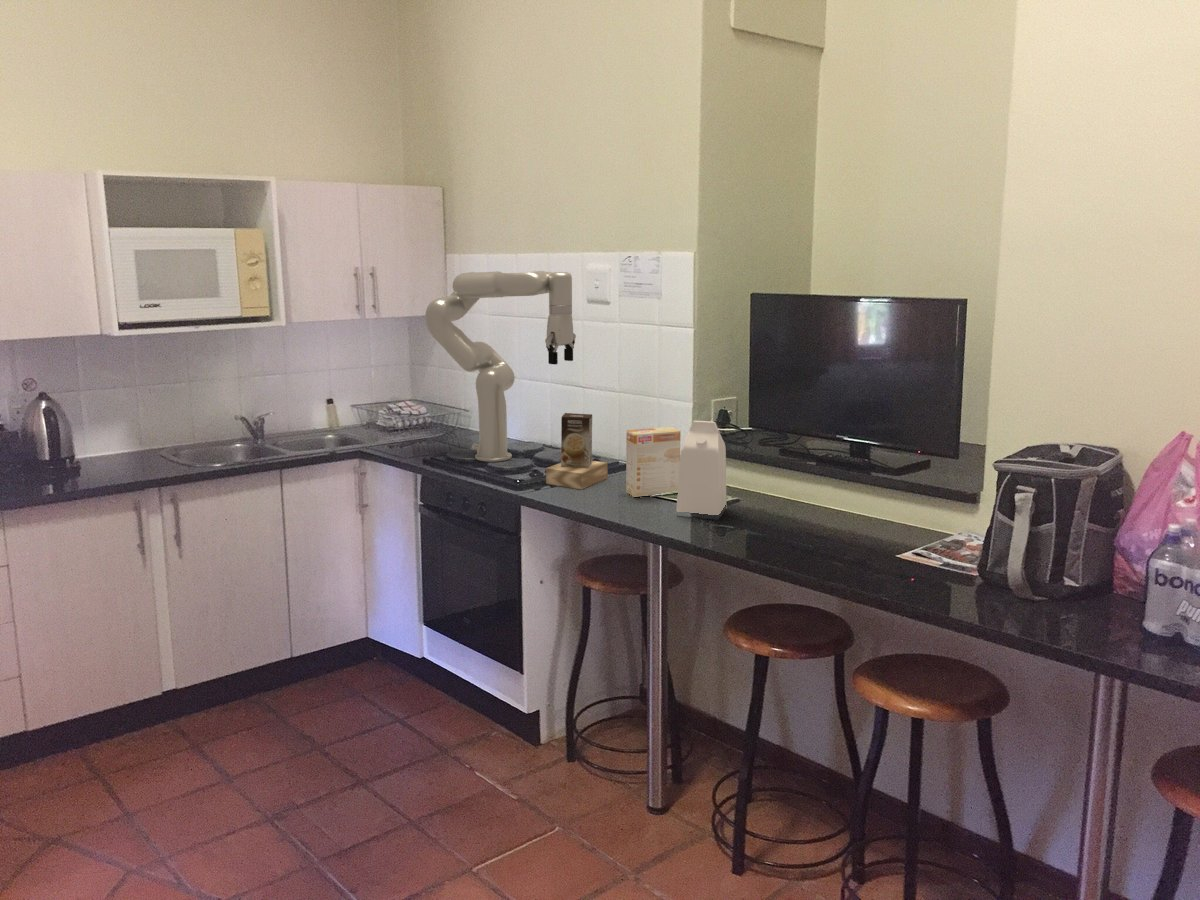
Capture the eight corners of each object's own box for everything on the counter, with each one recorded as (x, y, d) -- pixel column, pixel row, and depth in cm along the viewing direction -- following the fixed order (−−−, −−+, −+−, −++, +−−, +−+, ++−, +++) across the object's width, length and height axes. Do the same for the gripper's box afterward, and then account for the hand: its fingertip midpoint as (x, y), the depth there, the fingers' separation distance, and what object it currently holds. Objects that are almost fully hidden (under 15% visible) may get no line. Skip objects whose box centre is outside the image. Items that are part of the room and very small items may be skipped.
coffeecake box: (671, 488, 296) (672, 426, 292) (680, 494, 290) (681, 430, 285) (625, 492, 291) (625, 429, 287) (633, 498, 285) (634, 433, 280)
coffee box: (560, 467, 301) (559, 416, 298) (564, 462, 308) (564, 412, 304) (589, 468, 300) (589, 417, 296) (592, 463, 306) (592, 413, 303)
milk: (726, 508, 275) (729, 419, 269) (718, 520, 264) (721, 426, 258) (685, 505, 278) (687, 416, 273) (675, 516, 268) (677, 424, 262)
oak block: (546, 483, 301) (545, 468, 300) (572, 472, 315) (572, 458, 313) (581, 489, 295) (581, 473, 294) (607, 478, 308) (607, 462, 307)
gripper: (564, 308, 326) (565, 358, 330) (536, 311, 311) (537, 364, 315) (583, 309, 322) (583, 360, 326) (556, 312, 307) (556, 366, 311)
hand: (560, 362), depth 320 cm, fingers open, 9 cm apart
